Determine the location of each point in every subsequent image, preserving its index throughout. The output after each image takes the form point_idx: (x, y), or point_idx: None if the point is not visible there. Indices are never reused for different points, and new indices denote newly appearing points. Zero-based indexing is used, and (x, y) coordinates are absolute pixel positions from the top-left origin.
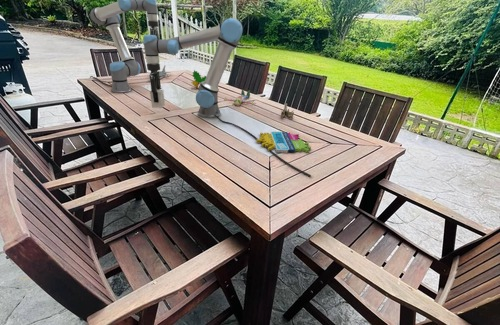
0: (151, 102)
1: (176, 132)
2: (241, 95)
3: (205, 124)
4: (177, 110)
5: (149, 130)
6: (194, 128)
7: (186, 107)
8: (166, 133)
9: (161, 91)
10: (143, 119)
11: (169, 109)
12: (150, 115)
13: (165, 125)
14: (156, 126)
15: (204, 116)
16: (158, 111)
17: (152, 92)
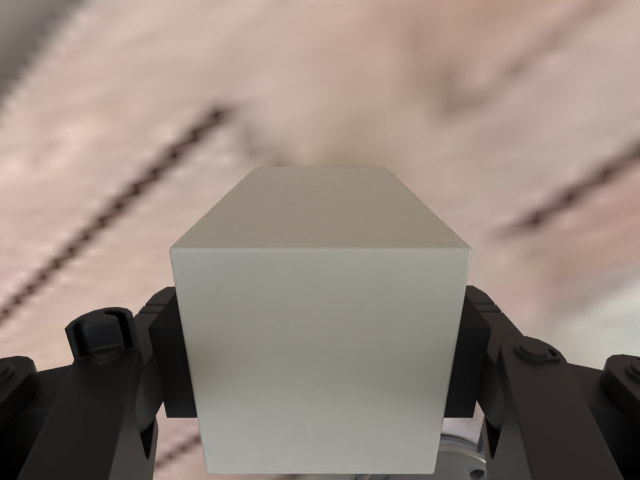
0: (241, 181)
1: (64, 358)
2: None
3: (244, 476)
4: (533, 291)
5: (23, 180)
6: (164, 435)
7: (609, 343)
8: (22, 307)
9: (269, 472)
10: (263, 41)
11: (571, 222)
12: (390, 81)
13: (164, 271)
14: (123, 211)
15: (361, 474)
16: (517, 131)
17: (184, 302)
